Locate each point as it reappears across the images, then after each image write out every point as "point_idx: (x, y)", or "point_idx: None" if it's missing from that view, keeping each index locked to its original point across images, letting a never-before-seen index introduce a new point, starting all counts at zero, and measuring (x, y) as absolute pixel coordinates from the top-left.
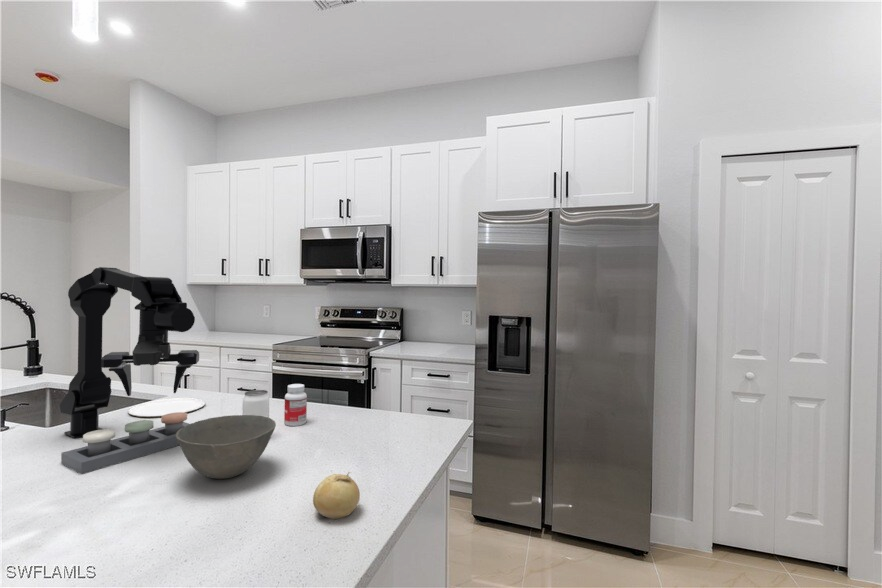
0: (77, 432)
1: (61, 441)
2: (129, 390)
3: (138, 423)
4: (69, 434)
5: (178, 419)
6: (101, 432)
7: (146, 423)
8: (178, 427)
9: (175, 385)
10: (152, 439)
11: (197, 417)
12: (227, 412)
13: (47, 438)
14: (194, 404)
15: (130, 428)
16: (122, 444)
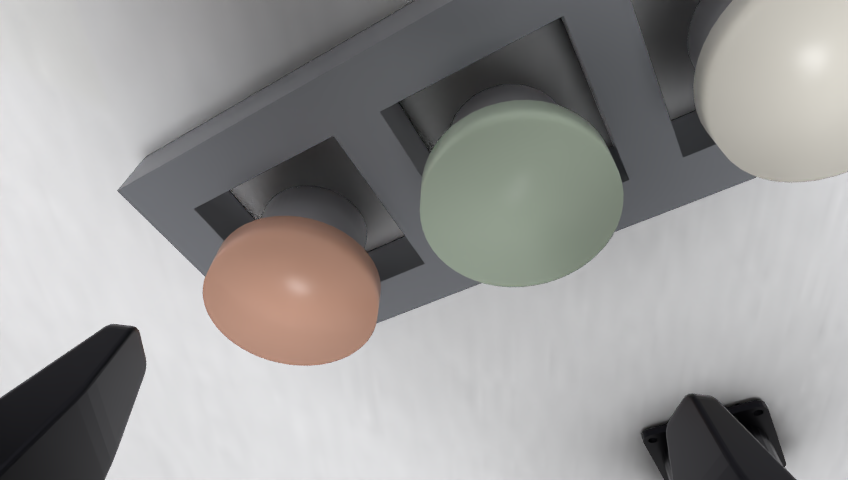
0: (754, 433)
1: (811, 390)
2: (726, 457)
3: (527, 221)
4: (776, 436)
5: (250, 233)
6: (816, 95)
7: (470, 194)
8: (272, 214)
9: (27, 413)
10: None
11: (266, 453)
12: (140, 465)
13: (845, 440)
14: None
15: (587, 134)
16: (613, 85)
